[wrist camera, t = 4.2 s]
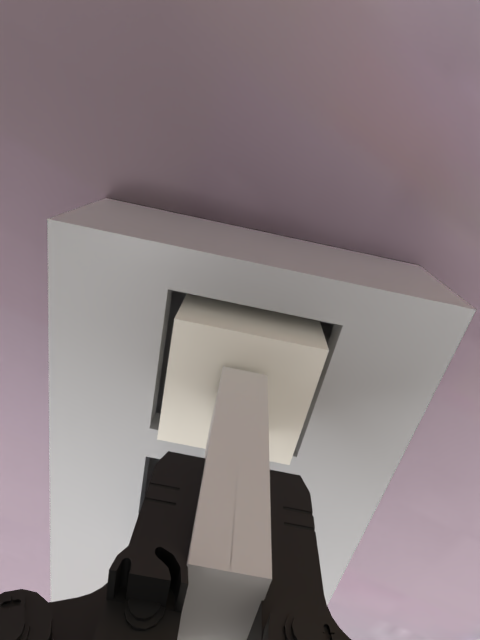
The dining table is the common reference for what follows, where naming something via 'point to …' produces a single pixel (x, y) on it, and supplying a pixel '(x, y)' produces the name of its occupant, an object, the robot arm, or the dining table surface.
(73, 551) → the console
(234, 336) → the ivory key
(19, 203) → the dining table surface
